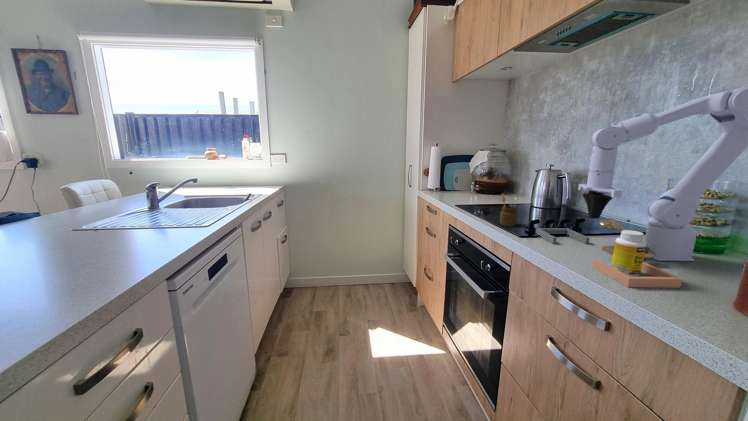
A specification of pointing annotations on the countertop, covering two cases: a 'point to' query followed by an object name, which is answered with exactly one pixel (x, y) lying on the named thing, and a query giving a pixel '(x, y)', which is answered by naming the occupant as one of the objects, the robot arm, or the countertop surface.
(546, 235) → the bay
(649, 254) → the balance beam
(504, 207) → the utensil holder
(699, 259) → the countertop surface
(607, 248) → the stand
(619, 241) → the supplement bottle
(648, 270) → the frame
